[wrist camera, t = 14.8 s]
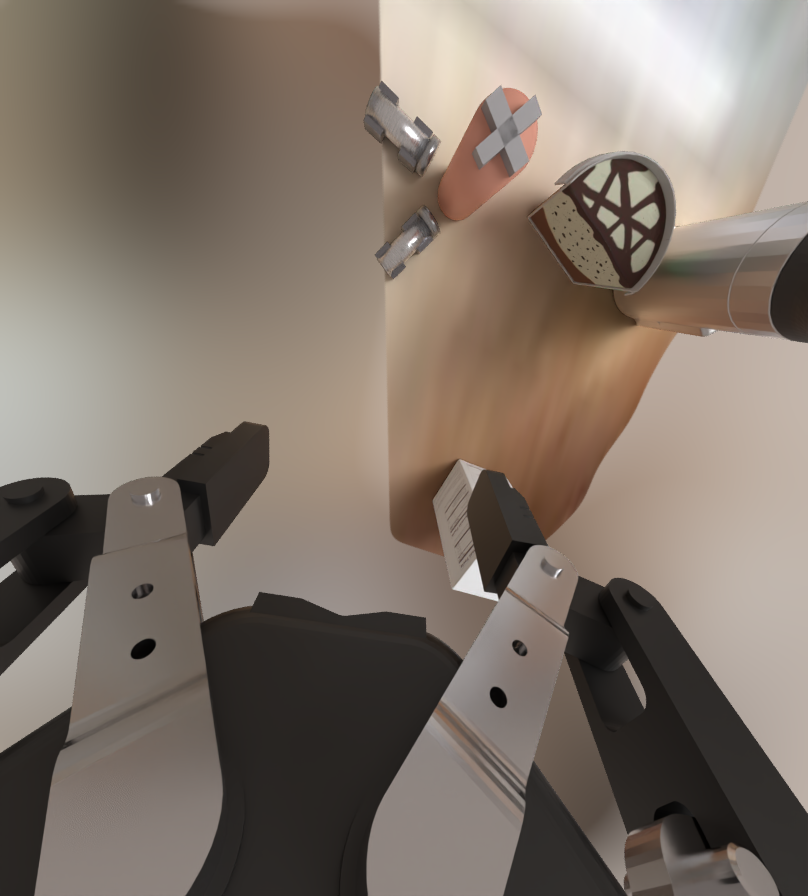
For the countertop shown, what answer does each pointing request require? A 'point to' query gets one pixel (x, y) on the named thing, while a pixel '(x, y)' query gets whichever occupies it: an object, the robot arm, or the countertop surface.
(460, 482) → the supplement box
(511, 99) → the pink capped rod
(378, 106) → the shaft
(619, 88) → the countertop surface
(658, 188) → the food container
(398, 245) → the shaft
